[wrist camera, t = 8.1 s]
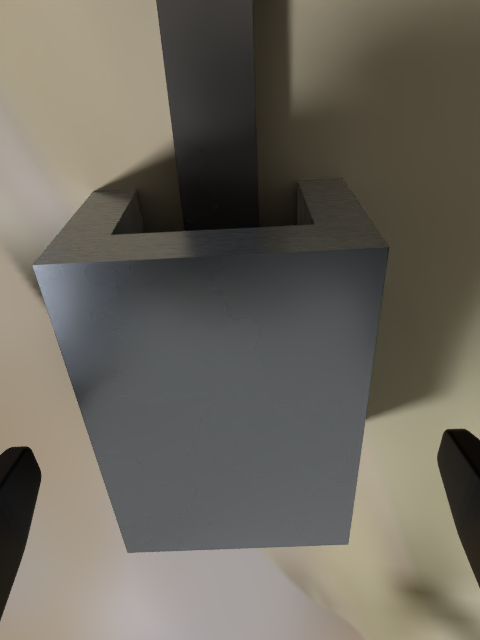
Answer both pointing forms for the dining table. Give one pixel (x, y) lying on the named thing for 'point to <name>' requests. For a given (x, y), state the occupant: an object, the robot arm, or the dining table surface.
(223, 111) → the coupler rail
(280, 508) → the block
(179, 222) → the dining table surface
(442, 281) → the dining table surface
